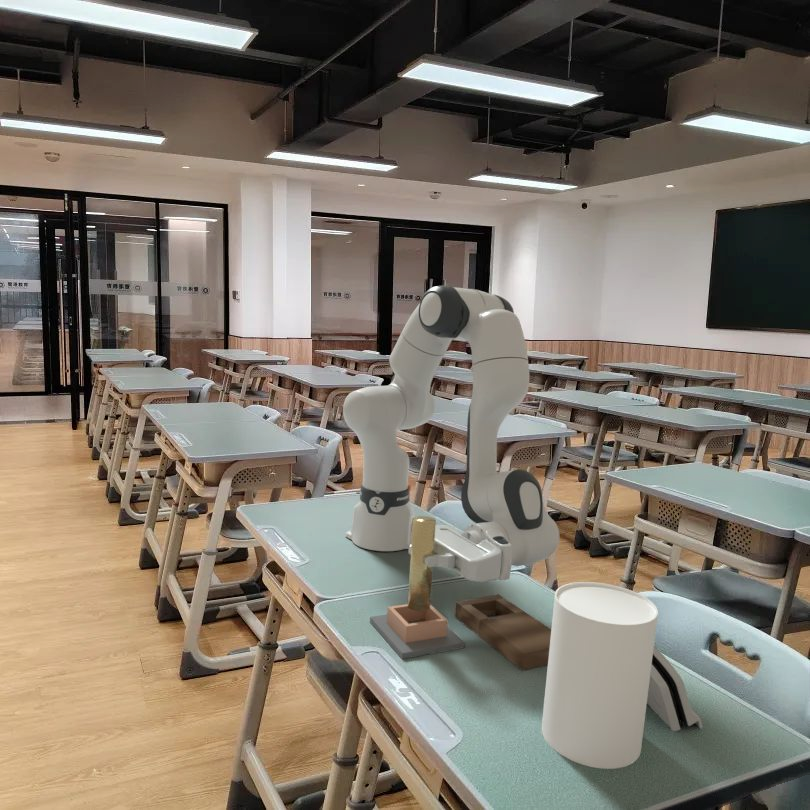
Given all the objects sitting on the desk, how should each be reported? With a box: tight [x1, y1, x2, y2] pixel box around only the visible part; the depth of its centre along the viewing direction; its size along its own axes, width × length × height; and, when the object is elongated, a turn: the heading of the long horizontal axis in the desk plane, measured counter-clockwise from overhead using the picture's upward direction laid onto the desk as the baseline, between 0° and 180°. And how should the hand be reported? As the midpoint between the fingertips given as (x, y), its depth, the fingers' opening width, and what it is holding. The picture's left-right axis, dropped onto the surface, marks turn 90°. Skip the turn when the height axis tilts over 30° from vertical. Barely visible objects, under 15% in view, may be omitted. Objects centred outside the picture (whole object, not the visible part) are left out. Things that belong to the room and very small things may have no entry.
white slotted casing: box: [647, 645, 703, 732], centre depth 107 cm, size 17×5×10 cm, turn 11°
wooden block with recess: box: [454, 593, 551, 671], centre depth 124 cm, size 21×10×3 cm, turn 28°
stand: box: [369, 603, 466, 660], centre depth 123 cm, size 14×12×4 cm
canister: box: [541, 581, 659, 770], centre depth 95 cm, size 14×14×20 cm
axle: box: [407, 515, 437, 611], centre depth 121 cm, size 4×4×16 cm
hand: (417, 555), depth 120 cm, fingers closed on axle, 4 cm apart
